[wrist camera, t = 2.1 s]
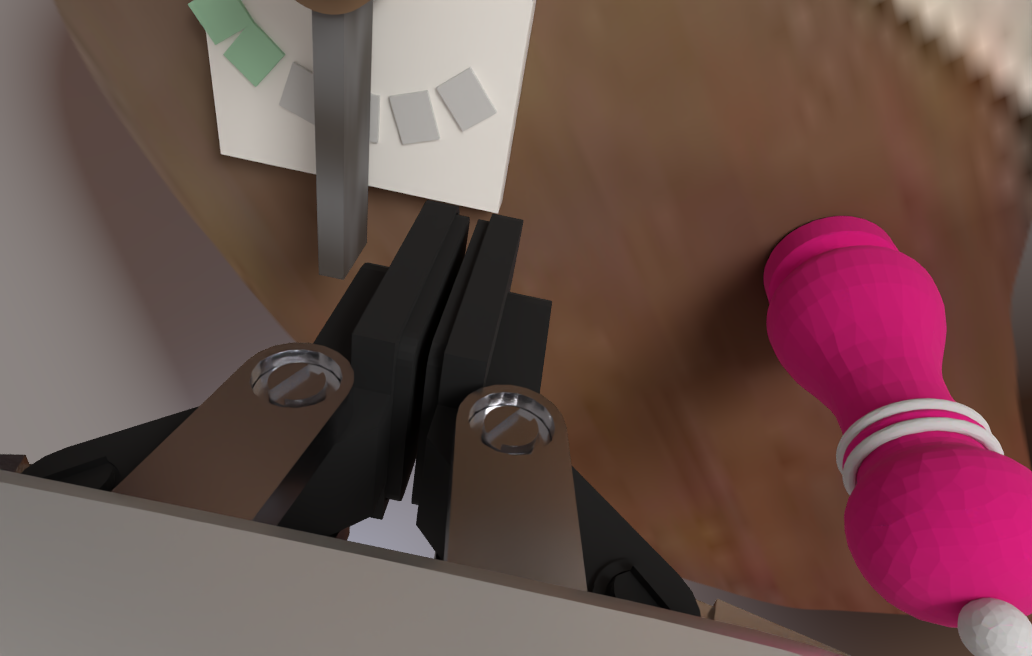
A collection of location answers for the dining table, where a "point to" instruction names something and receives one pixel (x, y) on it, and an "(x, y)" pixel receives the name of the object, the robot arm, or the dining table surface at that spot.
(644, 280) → the dining table surface
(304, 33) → the dial board
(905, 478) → the pepper mill
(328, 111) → the brown grey handled piece
